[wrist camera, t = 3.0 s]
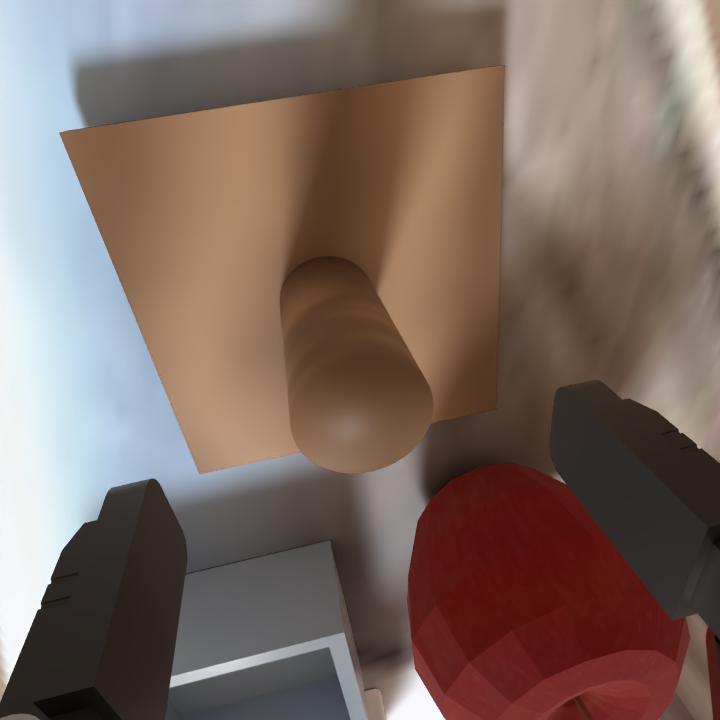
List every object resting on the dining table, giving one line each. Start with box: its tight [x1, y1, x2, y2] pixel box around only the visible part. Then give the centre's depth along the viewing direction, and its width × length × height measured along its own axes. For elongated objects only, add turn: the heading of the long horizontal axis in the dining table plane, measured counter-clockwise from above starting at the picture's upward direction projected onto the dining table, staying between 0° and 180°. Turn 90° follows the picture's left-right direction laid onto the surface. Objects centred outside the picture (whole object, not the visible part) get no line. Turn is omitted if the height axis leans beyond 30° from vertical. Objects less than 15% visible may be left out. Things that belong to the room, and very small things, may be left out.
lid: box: [60, 65, 505, 474], centre depth 14 cm, size 13×13×8 cm
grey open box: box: [165, 540, 369, 720], centre depth 26 cm, size 12×12×5 cm
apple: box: [407, 463, 690, 720], centre depth 21 cm, size 11×11×12 cm
